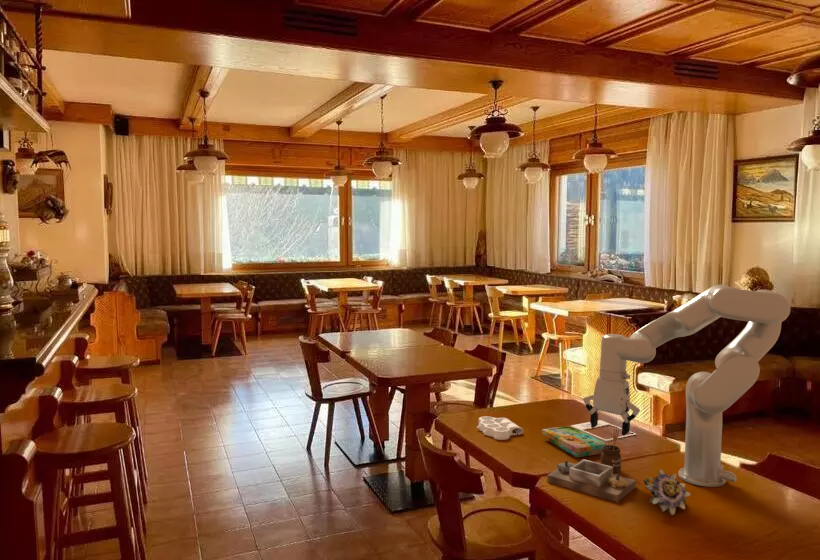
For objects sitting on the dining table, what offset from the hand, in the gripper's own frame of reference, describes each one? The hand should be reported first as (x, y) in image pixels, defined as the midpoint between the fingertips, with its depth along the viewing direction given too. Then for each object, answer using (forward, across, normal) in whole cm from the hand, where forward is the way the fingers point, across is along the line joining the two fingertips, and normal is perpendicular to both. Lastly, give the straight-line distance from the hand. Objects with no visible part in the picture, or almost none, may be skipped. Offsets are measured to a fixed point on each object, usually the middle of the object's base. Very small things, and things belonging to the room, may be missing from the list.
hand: (609, 430), depth 187 cm
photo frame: (+13, +16, -34) cm, 39 cm away
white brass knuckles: (+14, +45, -8) cm, 48 cm away
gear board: (+12, -1, +14) cm, 18 cm away
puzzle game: (+13, +17, -12) cm, 24 cm away
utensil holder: (+12, -1, 0) cm, 13 cm away
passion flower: (+12, -22, +14) cm, 29 cm away
